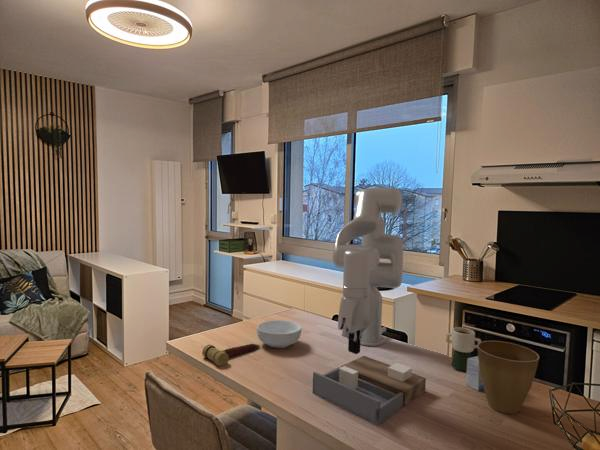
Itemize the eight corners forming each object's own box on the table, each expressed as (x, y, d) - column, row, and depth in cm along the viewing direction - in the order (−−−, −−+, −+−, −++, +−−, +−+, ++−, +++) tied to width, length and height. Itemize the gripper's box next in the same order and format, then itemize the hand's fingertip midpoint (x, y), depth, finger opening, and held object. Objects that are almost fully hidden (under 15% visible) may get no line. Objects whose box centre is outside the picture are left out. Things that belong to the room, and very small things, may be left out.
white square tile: (344, 365, 116) (339, 368, 114) (358, 371, 113) (352, 374, 111) (343, 382, 117) (338, 384, 115) (357, 388, 113) (352, 391, 111)
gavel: (251, 335, 148) (268, 343, 141) (251, 347, 148) (267, 356, 141) (202, 345, 134) (217, 354, 127) (201, 358, 134) (216, 368, 127)
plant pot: (536, 428, 97) (540, 366, 95) (471, 411, 104) (474, 353, 103) (534, 402, 110) (538, 346, 108) (476, 388, 117) (479, 336, 116)
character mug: (480, 368, 131) (482, 330, 130) (478, 376, 125) (480, 336, 124) (446, 361, 136) (448, 324, 136) (442, 368, 130) (444, 330, 129)
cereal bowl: (309, 342, 151) (309, 324, 150) (284, 356, 137) (285, 337, 136) (273, 333, 160) (274, 316, 159) (247, 346, 146) (247, 327, 145)
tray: (338, 379, 120) (339, 360, 120) (402, 407, 105) (403, 386, 105) (312, 392, 112) (313, 372, 111) (377, 425, 96) (378, 401, 96)
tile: (396, 370, 118) (396, 362, 118) (411, 376, 115) (411, 368, 115) (387, 375, 115) (388, 367, 115) (402, 381, 111) (403, 373, 111)
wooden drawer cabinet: (363, 367, 130) (363, 355, 129) (425, 391, 114) (425, 378, 114) (340, 378, 121) (341, 366, 121) (404, 406, 106) (405, 391, 105)
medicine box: (478, 391, 115) (479, 363, 114) (465, 385, 119) (466, 357, 118) (495, 386, 119) (497, 358, 118) (482, 380, 122) (484, 353, 122)
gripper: (360, 284, 122) (358, 341, 123) (329, 294, 111) (328, 355, 113) (381, 289, 116) (378, 348, 118) (350, 299, 106) (348, 364, 108)
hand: (354, 351), depth 115 cm, fingers closed
